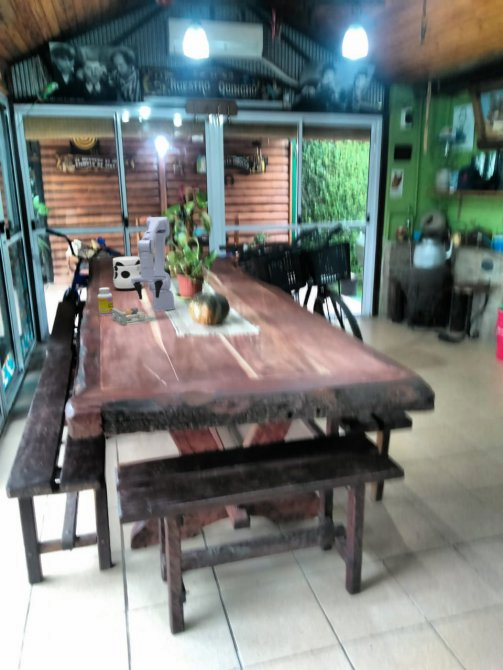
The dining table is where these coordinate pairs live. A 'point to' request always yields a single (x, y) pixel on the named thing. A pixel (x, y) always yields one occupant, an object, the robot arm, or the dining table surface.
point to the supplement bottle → (105, 302)
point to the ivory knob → (134, 316)
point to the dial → (128, 313)
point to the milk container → (126, 271)
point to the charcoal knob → (133, 311)
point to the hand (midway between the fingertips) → (149, 298)
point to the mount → (124, 322)
